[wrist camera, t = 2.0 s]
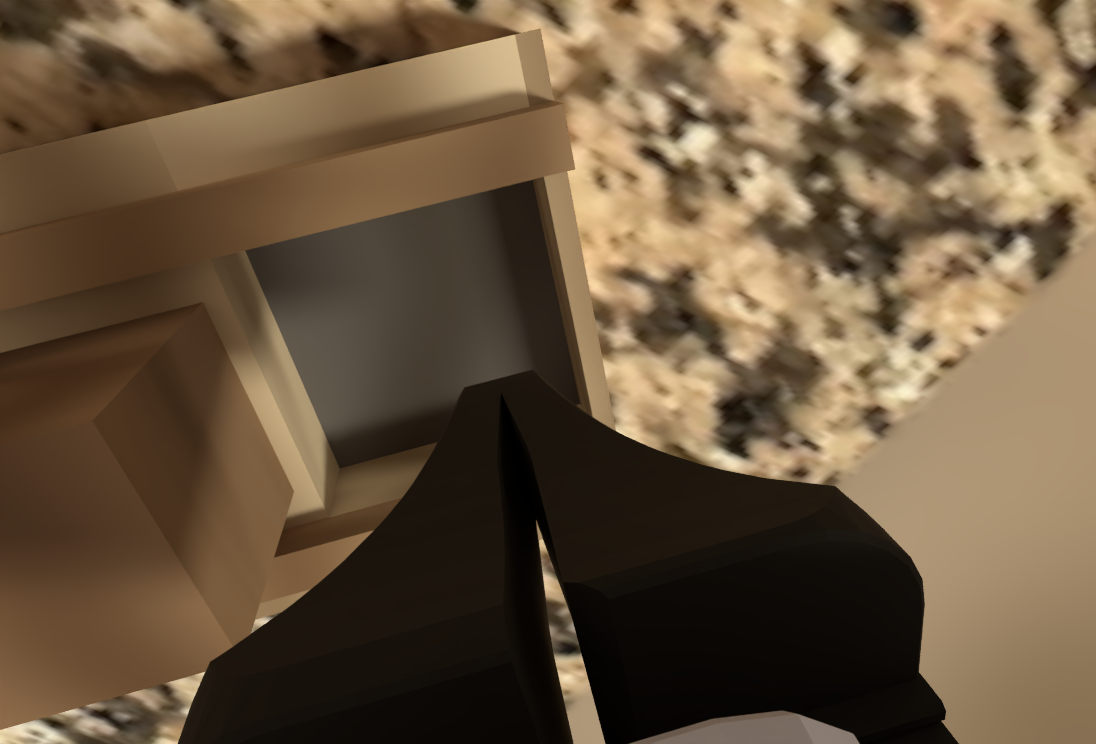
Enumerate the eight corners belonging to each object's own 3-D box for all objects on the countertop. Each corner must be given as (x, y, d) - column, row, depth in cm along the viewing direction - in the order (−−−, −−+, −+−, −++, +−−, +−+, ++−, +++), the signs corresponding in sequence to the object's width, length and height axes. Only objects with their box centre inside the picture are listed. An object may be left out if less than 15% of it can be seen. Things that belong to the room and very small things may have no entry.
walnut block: (86, 547, 15) (-52, 744, 11) (-44, 363, 13) (-284, 517, 9) (294, 491, 16) (242, 660, 11) (202, 302, 13) (92, 421, 9)
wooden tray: (16, 626, 19) (-65, 737, 16) (-315, 228, 13) (-536, 277, 10) (608, 463, 20) (642, 537, 17) (523, 34, 15) (549, 26, 11)
